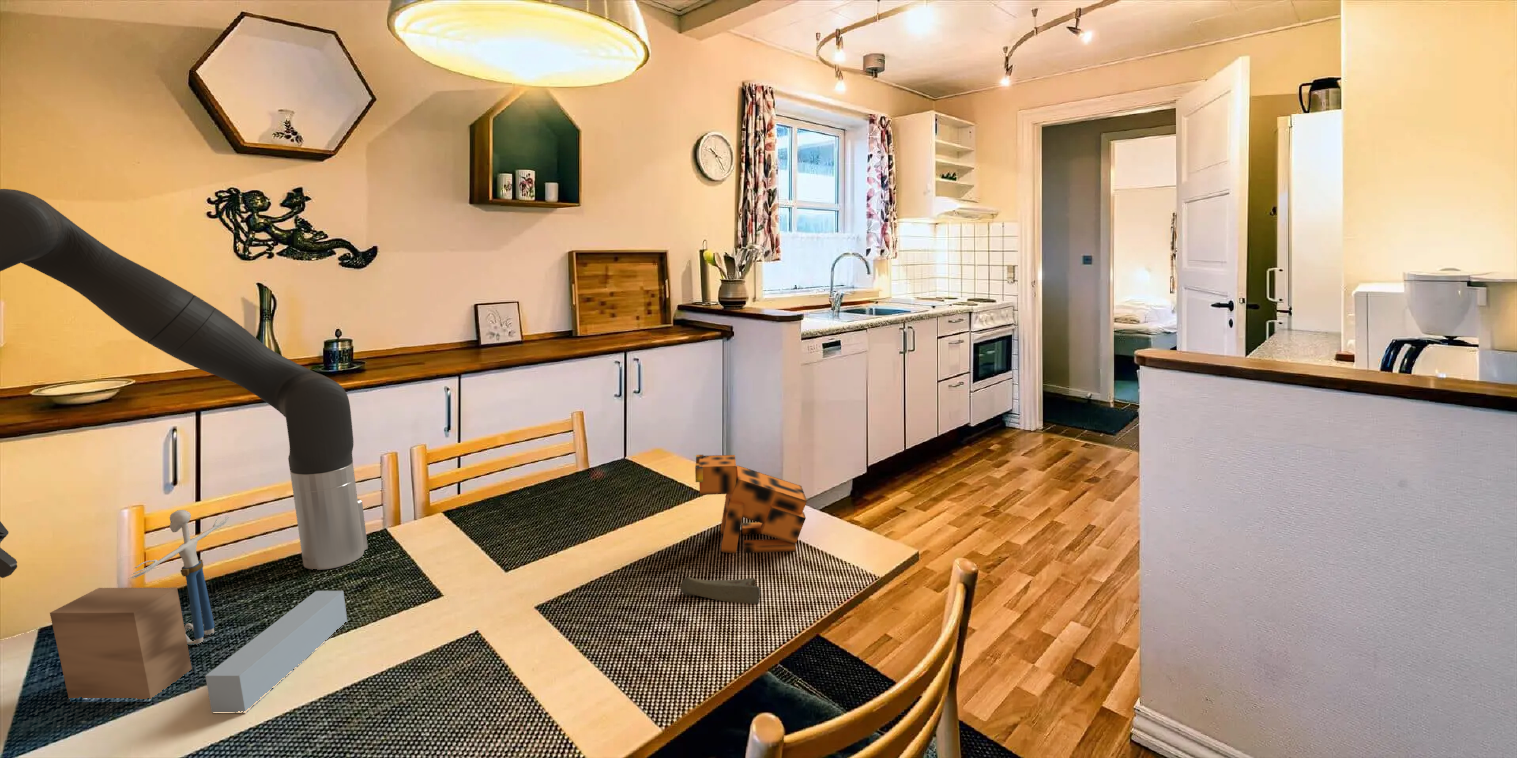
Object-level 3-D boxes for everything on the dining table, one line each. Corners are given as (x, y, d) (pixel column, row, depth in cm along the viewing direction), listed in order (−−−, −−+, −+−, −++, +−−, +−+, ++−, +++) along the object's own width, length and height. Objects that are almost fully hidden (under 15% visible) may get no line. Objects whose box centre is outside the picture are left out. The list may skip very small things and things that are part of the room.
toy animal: (807, 551, 122) (808, 467, 119) (697, 555, 121) (695, 470, 118) (800, 527, 133) (800, 450, 130) (698, 531, 131) (696, 452, 128)
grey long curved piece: (763, 589, 109) (763, 569, 108) (759, 606, 104) (758, 585, 103) (686, 585, 111) (685, 565, 110) (678, 601, 106) (677, 581, 105)
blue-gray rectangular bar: (320, 622, 99) (316, 590, 98) (347, 622, 99) (343, 590, 98) (212, 713, 80) (205, 675, 79) (245, 713, 80) (239, 675, 79)
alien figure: (216, 605, 104) (196, 487, 101) (254, 602, 105) (235, 485, 101) (113, 687, 85) (84, 543, 81) (161, 683, 86) (134, 541, 82)
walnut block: (116, 672, 88) (98, 587, 86) (192, 672, 88) (177, 587, 85) (69, 703, 82) (49, 612, 80) (151, 703, 82) (133, 612, 80)
